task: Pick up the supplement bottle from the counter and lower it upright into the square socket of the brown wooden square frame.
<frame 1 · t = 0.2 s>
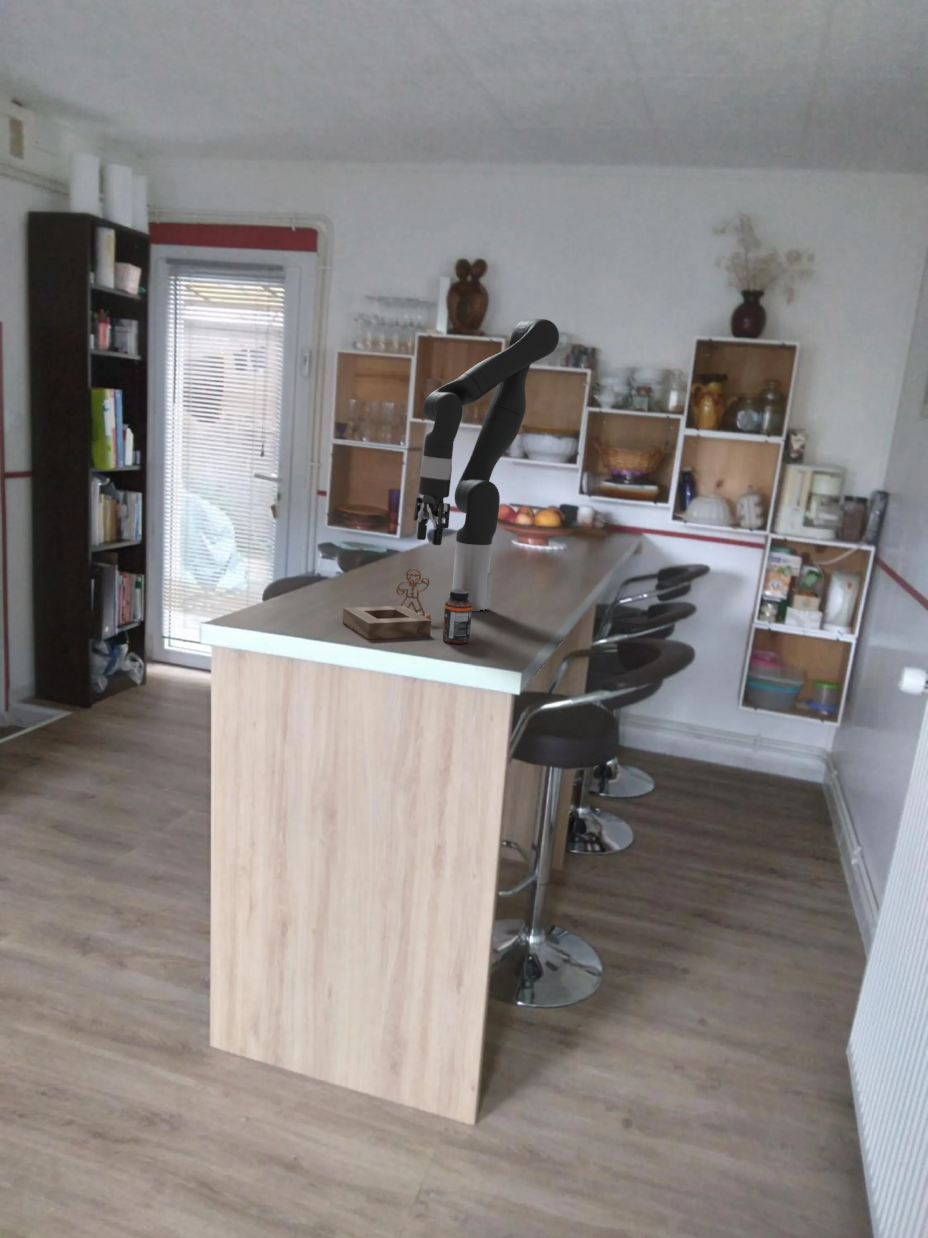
hand: (428, 542, 213), 17 cm above the table, tool pointing down, fingers open, 8 cm apart
supplement bottle: (455, 642, 189), on the table
brown wooden square frame: (385, 629, 195), on the table
gingerbread man figurine: (410, 618, 209), on the table
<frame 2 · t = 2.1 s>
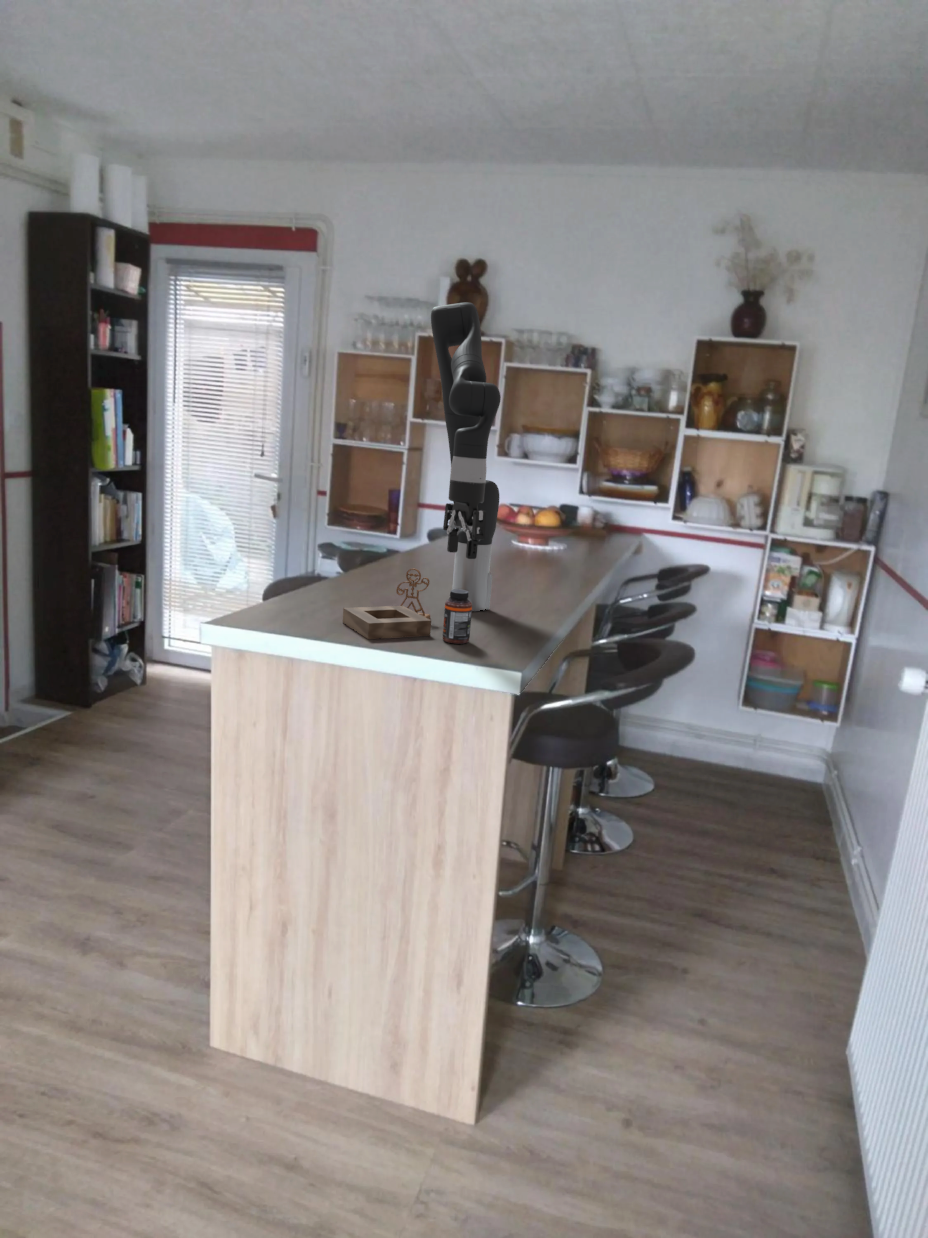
hand: (461, 555, 185), 19 cm above the table, tool pointing down, fingers open, 8 cm apart
nothing on the table moved.
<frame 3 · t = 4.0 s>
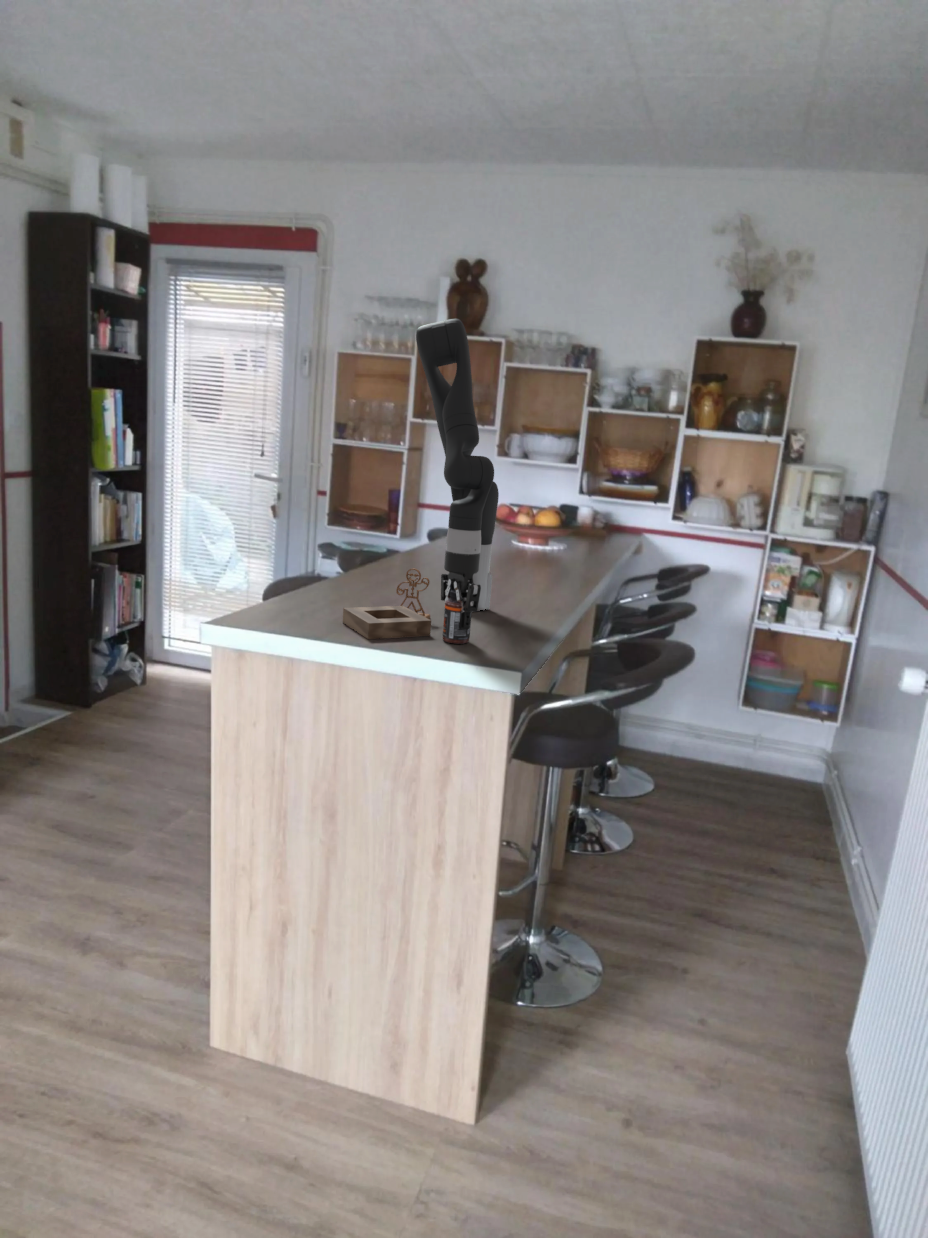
hand: (456, 625, 188), 4 cm above the table, tool pointing down, fingers closed on supplement bottle, 6 cm apart
supplement bottle: (455, 642, 189), on the table, touching gripper
everything else where it was.
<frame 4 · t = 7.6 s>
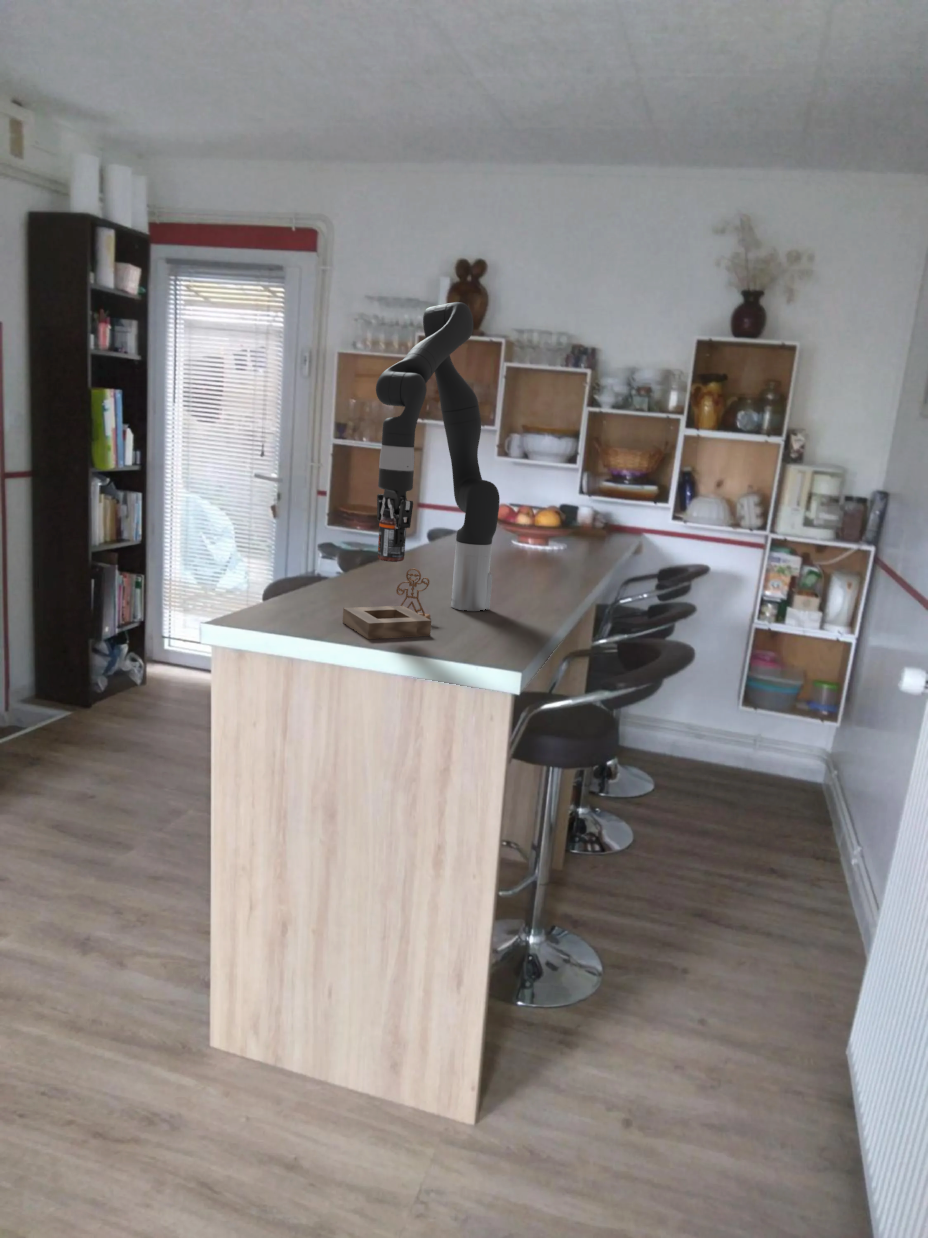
hand: (392, 543, 190), 19 cm above the table, tool pointing down, fingers closed on supplement bottle, 6 cm apart
supplement bottle: (390, 560, 191), point 16 cm above the table, touching gripper
everything else where it was.
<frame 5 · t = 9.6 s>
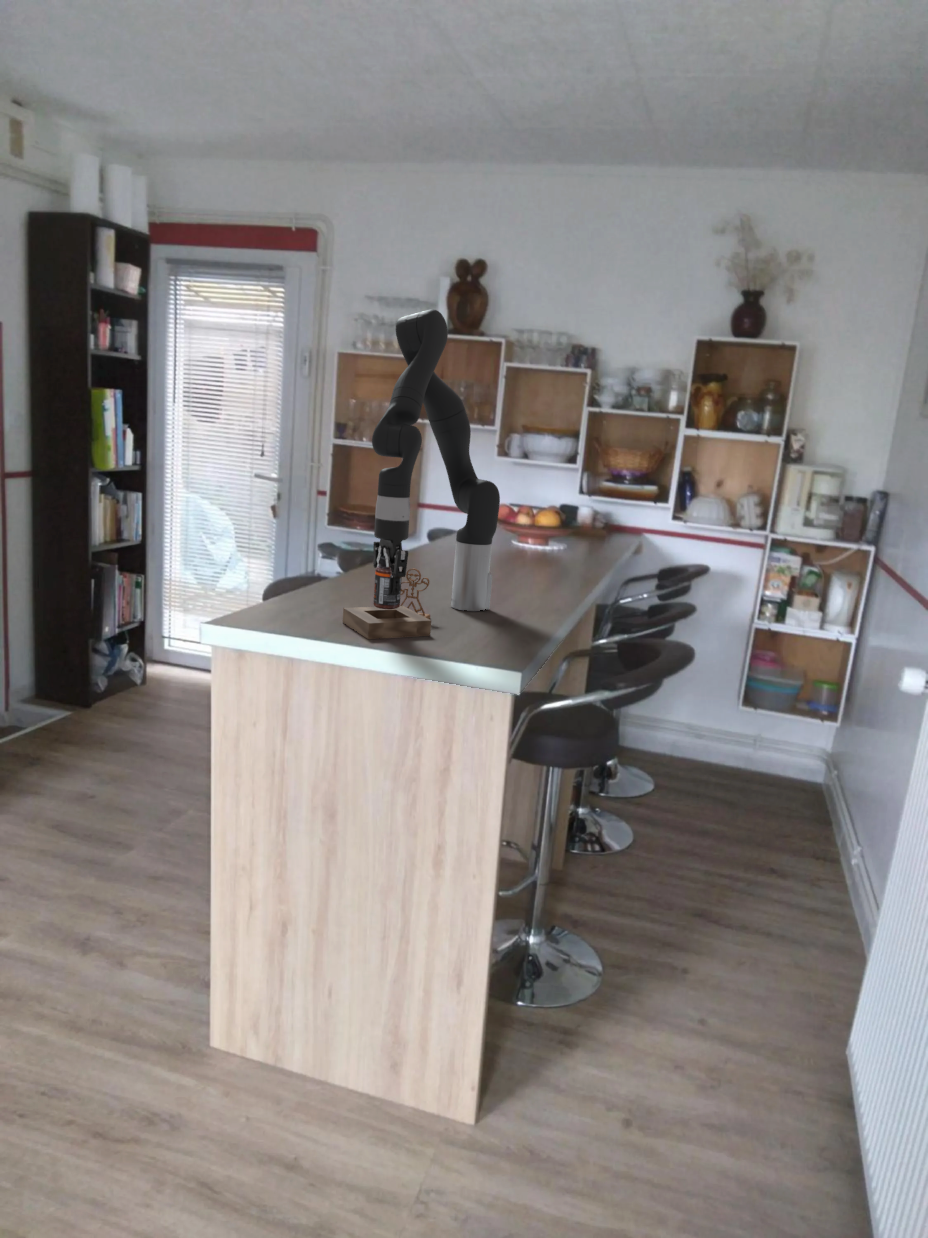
hand: (387, 591, 193), 9 cm above the table, tool pointing down, fingers closed on supplement bottle, 6 cm apart
supplement bottle: (386, 607, 194), point 5 cm above the table, touching gripper
everything else where it was.
when the fingers open (6 cm above the table, at t = 11.2 s): supplement bottle drops 1 cm, resting on brown wooden square frame.
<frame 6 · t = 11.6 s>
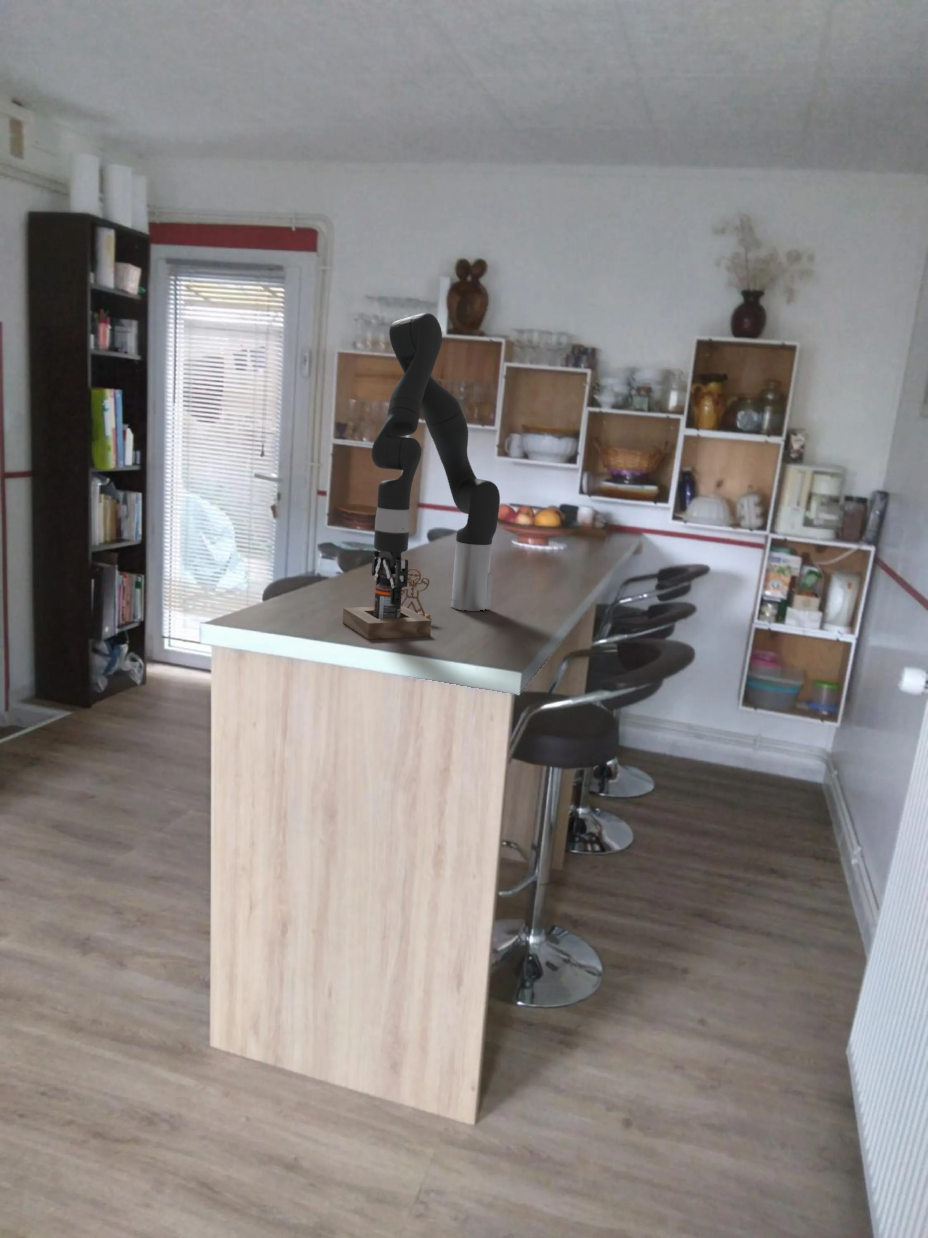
hand: (387, 600, 193), 7 cm above the table, tool pointing down, fingers open, 8 cm apart
supplement bottle: (386, 625, 195), point 1 cm above the table, touching brown wooden square frame
brown wooden square frame: (385, 629, 195), on the table, touching supplement bottle
everything else where it was.
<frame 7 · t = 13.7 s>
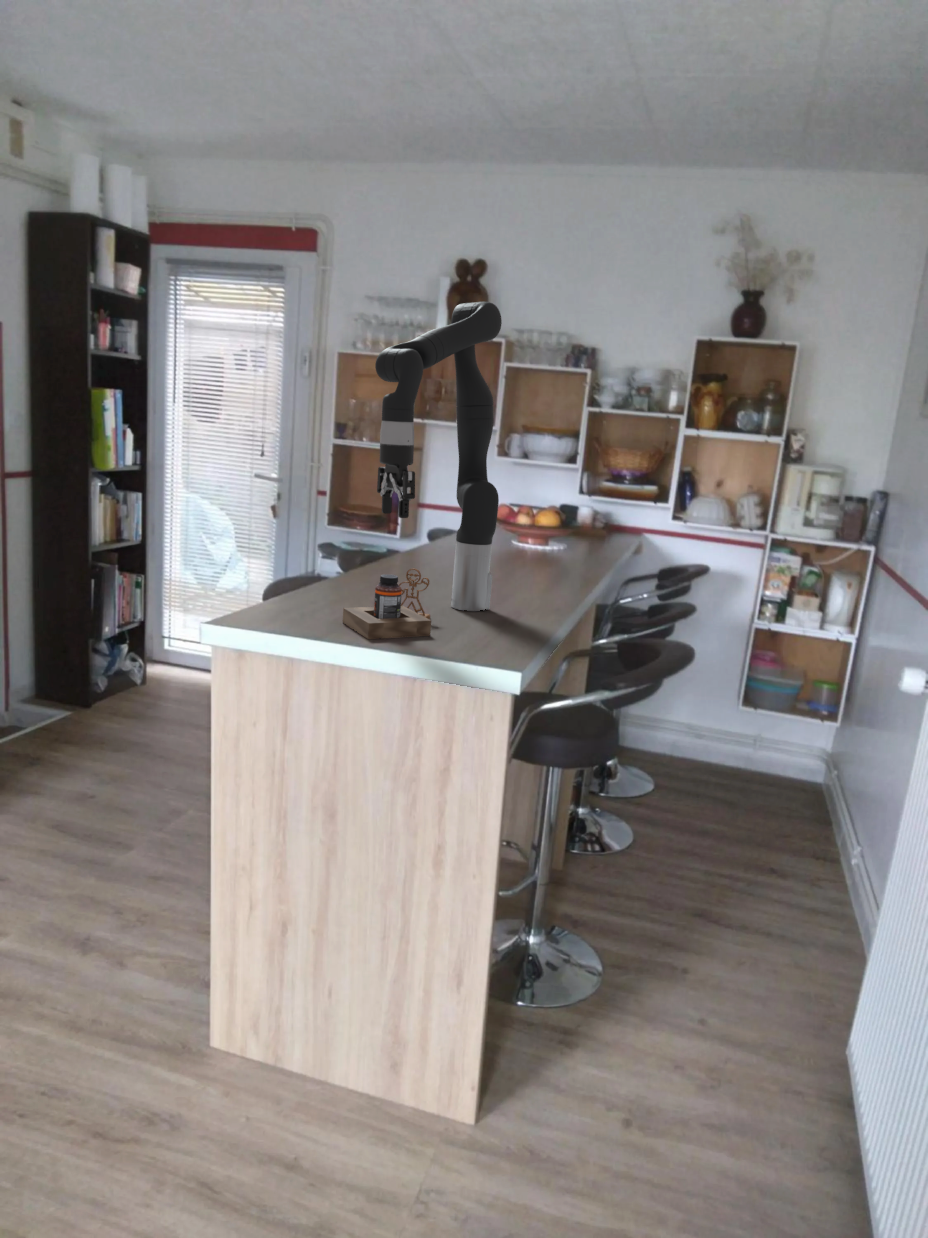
hand: (394, 515, 195), 25 cm above the table, tool pointing down, fingers open, 8 cm apart
nothing on the table moved.
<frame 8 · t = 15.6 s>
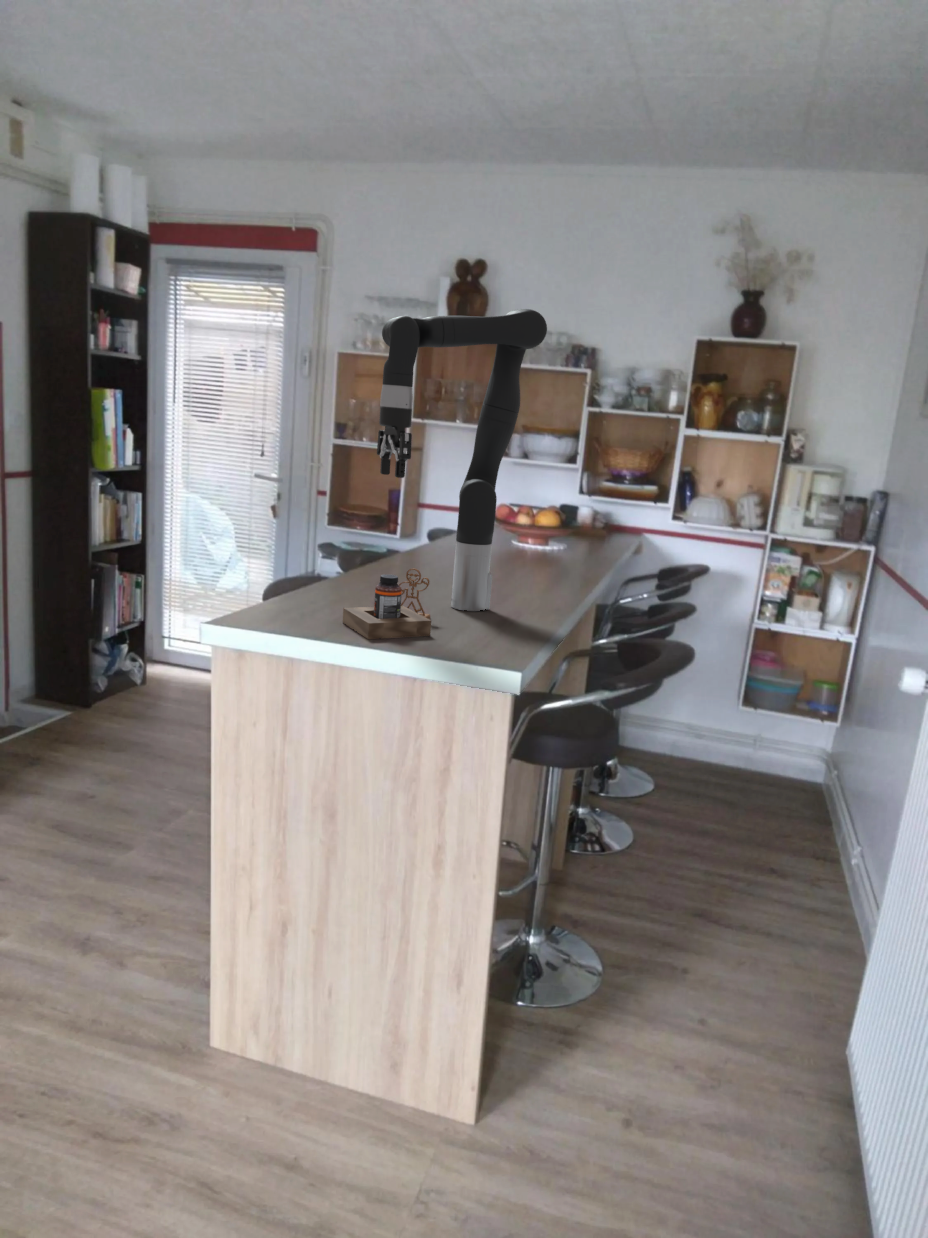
hand: (392, 475, 205), 33 cm above the table, tool pointing down, fingers open, 8 cm apart
nothing on the table moved.
at the end: supplement bottle 0.1 cm off-centre on the brown wooden square frame, point 0.8 cm above the brown wooden square frame's base; supplement bottle tilted 0°; brown wooden square frame moved 0.0 cm from its start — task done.
